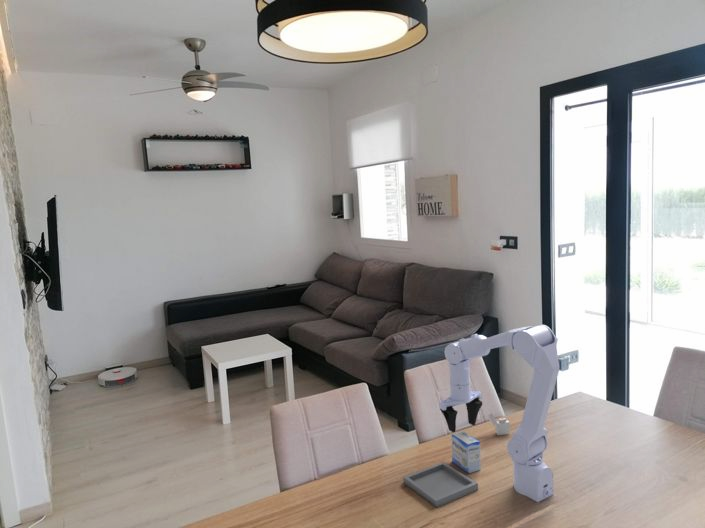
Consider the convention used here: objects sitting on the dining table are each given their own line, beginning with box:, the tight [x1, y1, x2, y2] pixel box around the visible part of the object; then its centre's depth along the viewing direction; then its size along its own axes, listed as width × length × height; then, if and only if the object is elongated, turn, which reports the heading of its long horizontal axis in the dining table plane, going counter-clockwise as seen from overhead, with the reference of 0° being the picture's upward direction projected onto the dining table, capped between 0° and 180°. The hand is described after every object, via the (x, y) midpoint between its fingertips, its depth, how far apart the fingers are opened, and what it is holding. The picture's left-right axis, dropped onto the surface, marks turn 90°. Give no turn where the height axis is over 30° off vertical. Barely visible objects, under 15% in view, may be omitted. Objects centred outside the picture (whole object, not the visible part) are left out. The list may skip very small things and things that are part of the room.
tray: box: [402, 461, 479, 508], centre depth 134 cm, size 14×14×2 cm
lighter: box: [486, 411, 511, 436], centre depth 162 cm, size 7×2×8 cm, turn 99°
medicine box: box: [451, 430, 482, 474], centre depth 144 cm, size 8×4×9 cm, turn 25°
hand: (462, 427), depth 147 cm, fingers open, 7 cm apart
